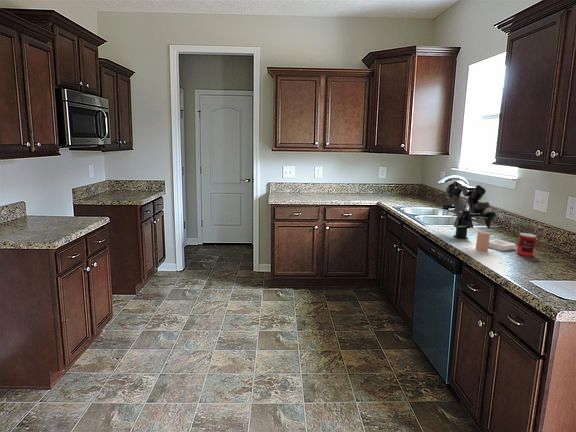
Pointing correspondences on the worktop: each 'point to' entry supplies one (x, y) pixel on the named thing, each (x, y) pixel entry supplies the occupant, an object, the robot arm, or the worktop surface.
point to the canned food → (526, 244)
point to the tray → (501, 245)
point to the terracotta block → (482, 241)
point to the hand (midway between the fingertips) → (480, 228)
